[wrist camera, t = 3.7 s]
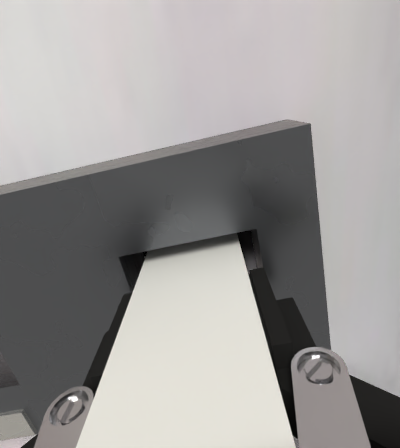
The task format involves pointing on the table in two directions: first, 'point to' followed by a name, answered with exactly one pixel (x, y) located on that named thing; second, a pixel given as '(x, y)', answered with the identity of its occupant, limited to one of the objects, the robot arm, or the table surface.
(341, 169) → the table surface
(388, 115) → the table surface
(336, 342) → the table surface
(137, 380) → the plug
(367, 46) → the table surface
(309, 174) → the jack panel
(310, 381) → the robot arm
